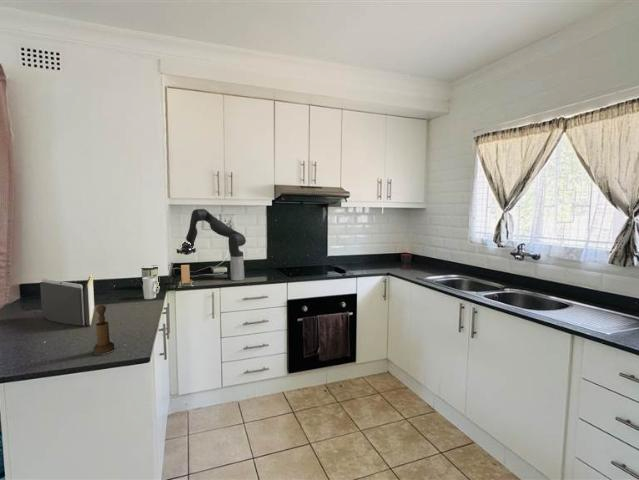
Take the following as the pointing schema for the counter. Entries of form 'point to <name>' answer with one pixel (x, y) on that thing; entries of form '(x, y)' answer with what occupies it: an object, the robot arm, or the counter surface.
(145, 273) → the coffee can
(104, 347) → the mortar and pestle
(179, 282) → the chute
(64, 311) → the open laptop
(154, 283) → the mug
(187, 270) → the block
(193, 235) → the robot arm
